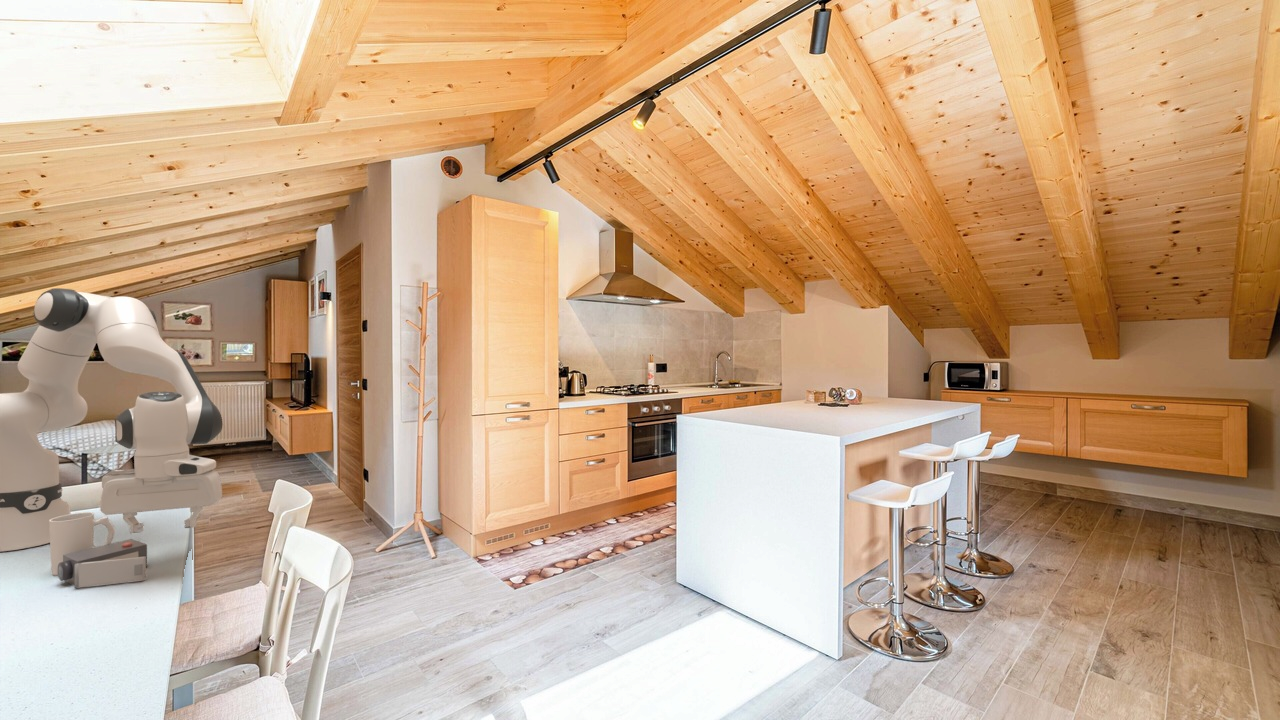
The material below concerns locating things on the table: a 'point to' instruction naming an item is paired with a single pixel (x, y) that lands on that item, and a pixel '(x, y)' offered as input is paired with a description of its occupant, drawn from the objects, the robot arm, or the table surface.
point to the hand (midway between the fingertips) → (164, 529)
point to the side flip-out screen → (110, 572)
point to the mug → (74, 535)
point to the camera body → (100, 556)
